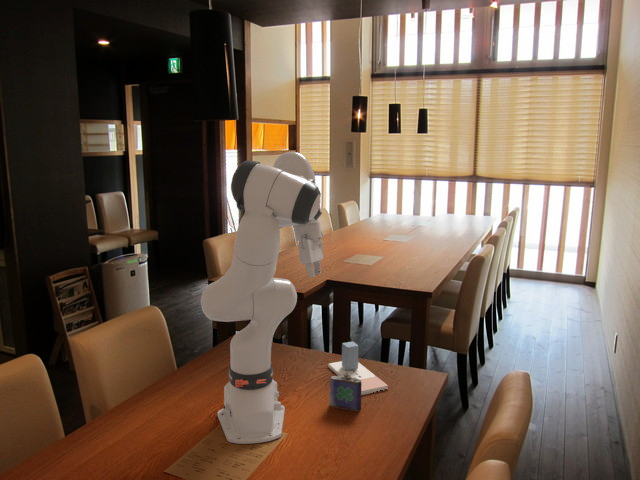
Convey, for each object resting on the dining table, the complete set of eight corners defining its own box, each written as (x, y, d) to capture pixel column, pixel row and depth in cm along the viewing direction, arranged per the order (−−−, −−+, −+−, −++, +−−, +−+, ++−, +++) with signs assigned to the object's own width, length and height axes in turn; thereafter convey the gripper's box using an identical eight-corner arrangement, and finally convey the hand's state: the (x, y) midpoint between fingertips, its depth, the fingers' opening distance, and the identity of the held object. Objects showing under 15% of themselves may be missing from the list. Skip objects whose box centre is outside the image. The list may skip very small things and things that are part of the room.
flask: (328, 407, 155) (329, 372, 153) (331, 402, 157) (332, 368, 155) (360, 412, 152) (361, 377, 150) (362, 407, 155) (363, 372, 153)
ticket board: (387, 389, 166) (388, 385, 165) (359, 395, 162) (359, 391, 161) (354, 362, 185) (354, 358, 185) (328, 366, 181) (328, 363, 181)
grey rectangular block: (358, 368, 177) (358, 345, 175) (347, 370, 175) (347, 347, 173) (352, 363, 180) (352, 341, 179) (341, 365, 178) (342, 343, 177)
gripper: (310, 233, 165) (317, 277, 165) (323, 232, 185) (330, 271, 185) (290, 236, 166) (298, 280, 166) (305, 235, 187) (312, 274, 186)
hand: (315, 275), depth 176 cm, fingers open, 8 cm apart
